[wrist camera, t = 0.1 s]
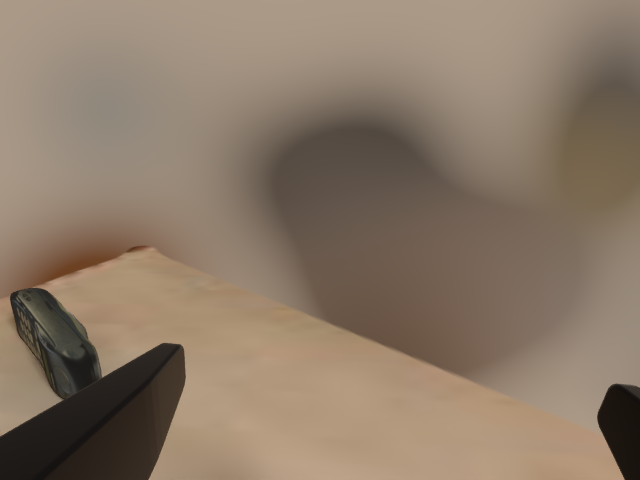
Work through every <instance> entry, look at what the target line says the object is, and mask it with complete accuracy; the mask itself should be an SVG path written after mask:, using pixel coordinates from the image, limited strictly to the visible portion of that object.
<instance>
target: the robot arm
mask: <svg viewBox="0 0 640 480" xmlns="http://www.w3.org/2000/svg"><path fill="white" fill-rule="evenodd" d="M185 378H186V374H185V357H184V348H183V346H182V345H180V344H171V343H162V344H160V345H158V346H157V347H155V348H153V349H151V350H150V351H148V352H146V353H144V354H143V355H141V356H139V357H137V358H136V359H134V360H132V361H131V362H129V363H127V364H125V365H124V366H122V367H120V368H118V369H117V370H115V371H113V372H111V373H110V374H108V375H106V376H104V377H103V378H101V379H99V380H98V381H96V382H94V383H92V384H91V385H89V386H87V387H85V388H84V389H82V390H80V391H78V392H77V393H75V394H73V395H71V396H70V397H68V398H66V399H65V400H63V401H61V402H59V403H58V404H56V405H54V406H52V407H51V408H49V409H47V410H45V411H44V412H42V413H40V414H38V415H37V416H35V417H33V418H32V419H30V420H28V421H26V422H25V423H23V424H21V425H19V426H18V427H16V428H14V429H12V430H11V431H9V432H7V433H5V434H4V435H2V436H0V480H148V479H149V477H150V475H151V473H152V471H153V469H154V467H155V464H156V462H157V460H158V458H159V455H160V452H161V450H162V447H163V444H164V442H165V439H166V436H167V433H168V430H169V428H170V425H171V422H172V419H173V416H174V414H175V411H176V408H177V405H178V402H179V400H180V397H181V394H182V391H183V388H184V385H185ZM597 419H598V424H599V427H600V429H601V431H602V433H603V435H604V438H605V440H606V442H607V444H608V446H609V448H610V450H611V452H612V454H613V456H614V458H615V460H616V462H617V465H618V467H619V469H620V471H621V473H622V475H623V477H624V479H625V480H640V388H639V387H637V386H634V385H626V384H613V385H611V386H610V387H609V388H608V391H607V393H606V395H605V397H604V400H603V402H602V404H601V407H600V409H599V411H598V415H597Z"/></svg>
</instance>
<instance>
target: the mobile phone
mask: <svg viewBox="0 0 640 480" xmlns="http://www.w3.org/2000/svg"><path fill="white" fill-rule="evenodd" d="M10 301H11V306H12V310H13V314H14V317H15V321H16V326H17V330H18V333H19V335H20V337H21V338H22V339H23V340H24V341H25V343H26V344H27V345H28V347H29V348H30V349H31V351H32V352H33V353H34V355H35V356H36V357H37V359H38V360H39V361H40V363H41V364H42V366H43V368H44V370H45V372H46V375H47V378H48V381H49V383H50V386H51V387H52V388H53V390H54V391H55V392H56V393H57V394H58V395H59V396H60V397H62V398H64V399H66V398H68V397H70V396H71V395H73V394H75V393H77V392H78V391H80V390H82V389H84V388H85V387H87V386H89V385H91V384H92V383H94V382H96V381H98V380H99V379H101V378H102V375H101V367H100V363H99V358H98V354H97V351H96V349H95V347H94V346H93V345H92V343H91V342H90V341H89V340H88V336H87V332H86V329H85V327H84V326H83V325H82V324H81V323H80V322H79V321H78V320H77V319H76V318H75V316H74V315H72V314H71V313H69V312H68V311H67V310H66V309H65V308H64V307H63V306H62V304H61V303H60V302H59V301H58V300H57V299H56V298H55V297H54V296H53V295H51V294H50V293H49V292H48V291H46V290H44V289H39V288H28V289H24V290H19V291H16V292H13V293H12V294H11V296H10Z"/></svg>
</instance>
